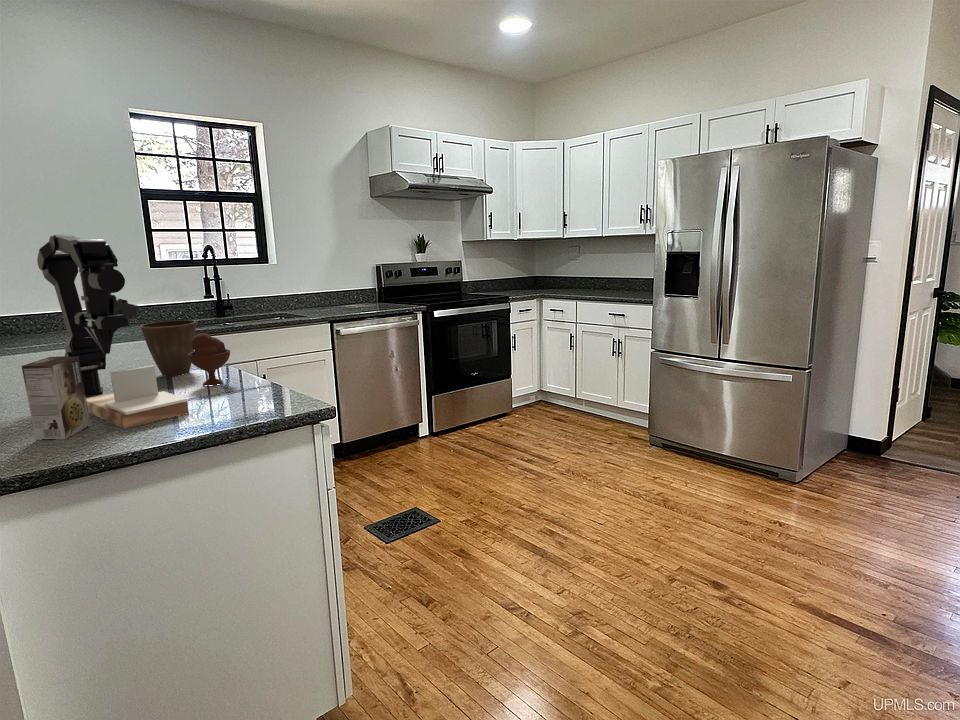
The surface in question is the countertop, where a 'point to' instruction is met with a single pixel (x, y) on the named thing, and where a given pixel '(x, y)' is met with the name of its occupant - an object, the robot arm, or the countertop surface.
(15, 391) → the countertop surface
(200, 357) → the ice cream bowl
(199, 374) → the countertop surface
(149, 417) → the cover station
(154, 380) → the white l-shaped piece
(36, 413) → the coffee box
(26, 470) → the countertop surface
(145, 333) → the plant pot
